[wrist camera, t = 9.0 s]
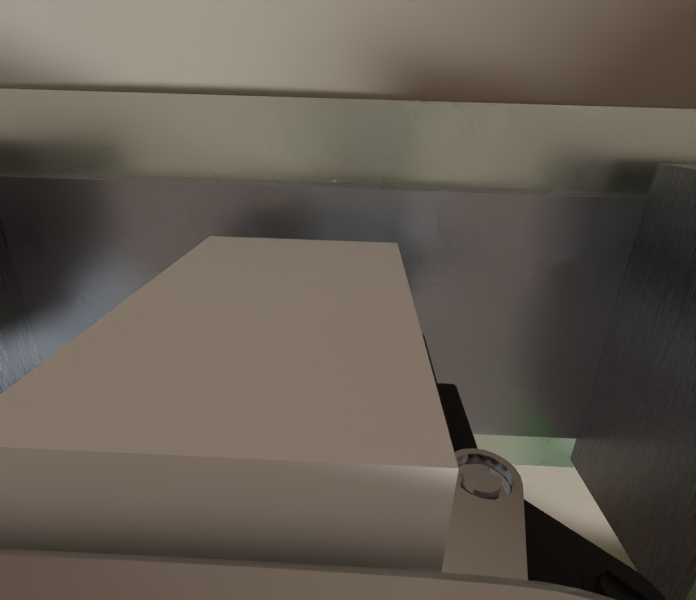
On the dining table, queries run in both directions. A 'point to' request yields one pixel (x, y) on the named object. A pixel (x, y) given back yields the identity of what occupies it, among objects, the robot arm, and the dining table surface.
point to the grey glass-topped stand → (406, 256)
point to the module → (239, 417)
